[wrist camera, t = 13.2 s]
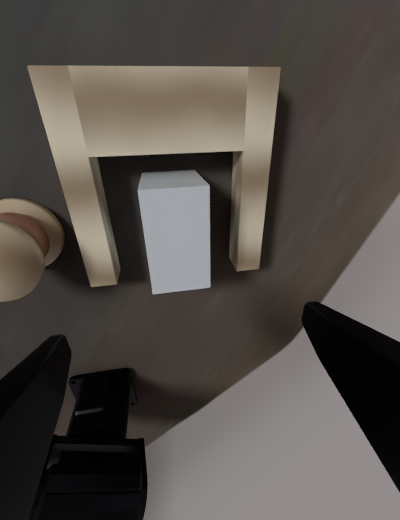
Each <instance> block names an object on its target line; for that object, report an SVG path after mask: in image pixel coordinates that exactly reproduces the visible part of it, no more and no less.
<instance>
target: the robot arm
mask: <svg viewBox="0 0 400 520" xmlns="http://www.w3.org/2000/svg"><path fill="white" fill-rule="evenodd" d="M302 324H303V326H304V328H305V330H306V333H307V335H308V337H309V339H310V341H311V343H312V345H313V347H314V349H315V352H316V354H317V356H318V358H319V359H320V361H321V363H322V365H323V366H324V368H325V369H326V371H327V373H328V375H329V376H330V378H331V380H332V381H333V383H334V385H335V386H336V388H337V389H338V391H339V393H340V394H341V396H342V398H343V399H344V401H345V403H346V404H347V406H348V408H349V409H350V411H351V412H352V414H353V416H354V418H355V419H356V421H357V422H358V424H359V426H360V428H361V429H362V431H363V432H364V434H365V436H366V437H367V439H368V441H369V442H370V444H371V446H372V447H373V449H374V451H375V452H376V454H377V456H378V457H379V459H380V461H381V462H382V464H383V465H384V467H385V469H386V470H387V472H388V473H389V475H390V477H391V479H392V480H393V482H394V484H395V485H396V487H397V489H398V490H399V492H400V342H398V341H396V340H394V339H392V338H390V337H388V336H386V335H384V334H382V333H380V332H378V331H376V330H374V329H372V328H370V327H368V326H366V325H364V324H362V323H360V322H358V321H356V320H353V319H351V318H350V317H347V316H345V315H343V314H341V313H339V312H337V311H335V310H333V309H331V308H329V307H327V306H325V305H323V304H321V303H319V302H316V301H314V302H307V303H306V304H305V306H304V310H303V314H302ZM70 362H71V349H70V347H69V344H68V342H67V339H66V337H65V335H63V334H60V335H53V336H50V337H49V338H48V339H46V340H45V341H44V342H43V343H42V344H41V345H40V346H38V347H37V348H36V349H35V350H34V351H33V352H32V353H30V354H29V355H28V356H27V357H26V358H25V359H23V360H22V361H21V362H20V363H19V364H18V365H17V366H15V367H14V368H13V369H12V370H11V371H10V372H9V373H7V374H6V375H5V376H4V377H3V378H2V379H1V380H0V520H143V517H144V512H145V506H146V499H147V470H146V460H145V459H146V458H145V446H144V438H138V439H126V434H127V422H128V411H129V407H131V406H135V405H136V404H137V398H136V394H135V390H134V385H133V381H132V377H131V373H130V370H129V369H127V368H125V369H118V370H112V371H105V372H99V373H92V374H86V375H79V376H73V377H71V378H70V379H69V382H68V383H69V385H70V388H71V390H72V392H73V394H74V397H75V399H76V403H75V406H74V410H73V413H72V417H71V420H70V424H69V427H68V431H67V434H66V436H57V434H54V431H55V428H56V424H57V421H58V417H59V414H60V411H61V407H62V404H63V400H64V395H65V389H66V384H67V378H68V373H69V367H70Z"/></svg>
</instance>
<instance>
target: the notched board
mask: <svg viewBox="0 0 400 520" xmlns="http://www.w3.org/2000/svg"><path fill="white" fill-rule="evenodd" d="M27 67H28V71H29V74H30V78H31V81H32V84H33V88H34V91H35V95H36V98H37V102H38V105H39V109H40V112H41V116H42V119H43V123H44V126H45V130H46V133H47V136H48V140H49V143H50V147H51V150H52V154H53V157H54V161H55V164H56V168H57V171H58V175H59V178H60V182H61V185H62V189H63V192H64V195H65V199H66V202H67V206H68V209H69V213H70V216H71V220H72V223H73V227H74V230H75V234H76V237H77V241H78V244H79V248H80V251H81V254H82V258H83V261H84V265H85V268H86V272H87V275H88V279H89V282H90V286H91V287H97V286H107V285H116V284H117V282H118V278H119V273H120V264H119V259H118V254H117V249H116V245H115V240H114V235H113V230H112V225H111V221H110V216H109V211H108V206H107V201H106V197H105V192H104V187H103V182H102V177H101V173H100V168H99V163H98V158H97V157H105V156H130V155H154V154H178V153H202V152H227V151H233V168H232V194H231V220H230V247H229V259H230V260H231V262H232V264H233V266H234V267H235V269H236V271H245V270H254V269H259V264H260V255H261V246H262V237H263V227H264V218H265V209H266V199H267V190H268V181H269V171H270V162H271V153H272V143H273V134H274V125H275V115H276V106H277V97H278V87H279V78H280V69H281V67H184V66H27Z"/></svg>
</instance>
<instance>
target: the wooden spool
mask: <svg viewBox="0 0 400 520" xmlns="http://www.w3.org/2000/svg"><path fill="white" fill-rule="evenodd" d="M64 244H65V234H64V230H63V227H62V225H61V223H60V222H59V220H58V219H57V217H56V216H55V215H54V214H53V213H52V212H51V211H50V210H48V209H47V208H46V207H44V206H42V205H41V204H39V203H37V202H34V201H31V200H29V199H24V198H5V199H1V200H0V302H6V301H13V300H16V299H19V298H22V297H24V296H26V295H27V294H29V293H30V292H31V291H32V290H33V289H34V288H35V287H36V285H37V284H38V283H39V281H40V280H41V278H42V276H43V274H44V270H45V266H48V265H49V264H51V263H52V262H53V261H55V259H56V258H57V257H58V256H59V254H60V253H61V252H62V250H63V247H64Z"/></svg>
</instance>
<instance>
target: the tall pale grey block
mask: <svg viewBox="0 0 400 520" xmlns="http://www.w3.org/2000/svg"><path fill="white" fill-rule="evenodd" d="M138 197H139V203H140V210H141V217H142V224H143V231H144V237H145V244H146V251H147V258H148V265H149V271H150V278H151V285H152V292H153V294H160V293H168V292H177V291H185V290H193V289H202V288H210V185H209V184H208V183H207V182H206V181H205V180H204V179H203V178H202V177H201V176H200V175H199V174H198V173H197V172H196V171H195V170H182V171H163V172H144V173H142V175H141V179H140V183H139V186H138Z"/></svg>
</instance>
